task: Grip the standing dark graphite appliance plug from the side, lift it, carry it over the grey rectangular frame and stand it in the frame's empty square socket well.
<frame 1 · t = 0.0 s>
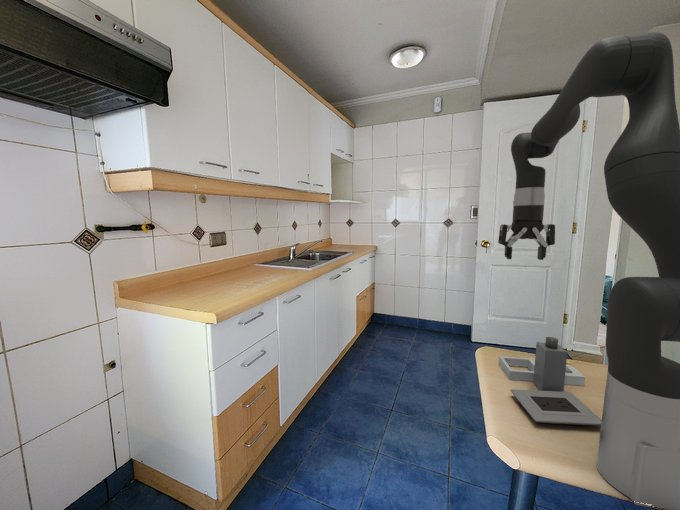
hand: (524, 259, 86), 29 cm above the table, tool pointing down, fingers open, 8 cm apart
electrical outlet: (553, 414, 63), on the table
grey rectangular frame: (538, 374, 77), on the table
plug: (547, 389, 71), on the table
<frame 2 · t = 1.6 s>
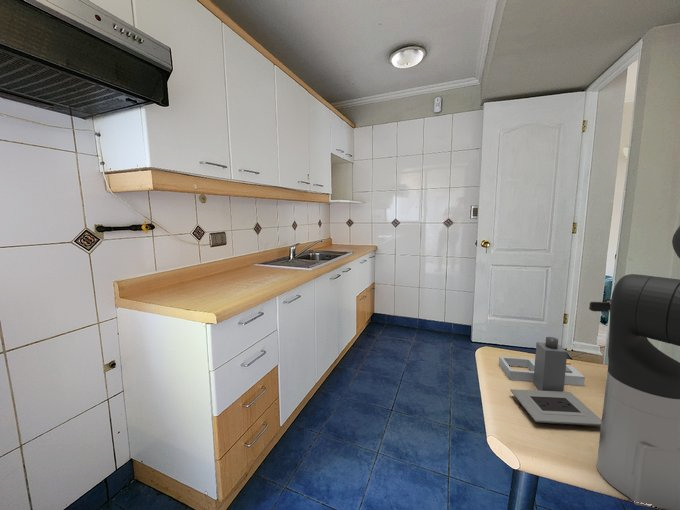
hand: (602, 312, 66), 20 cm above the table, tool horizontal, fingers open, 8 cm apart
nothing on the table moved.
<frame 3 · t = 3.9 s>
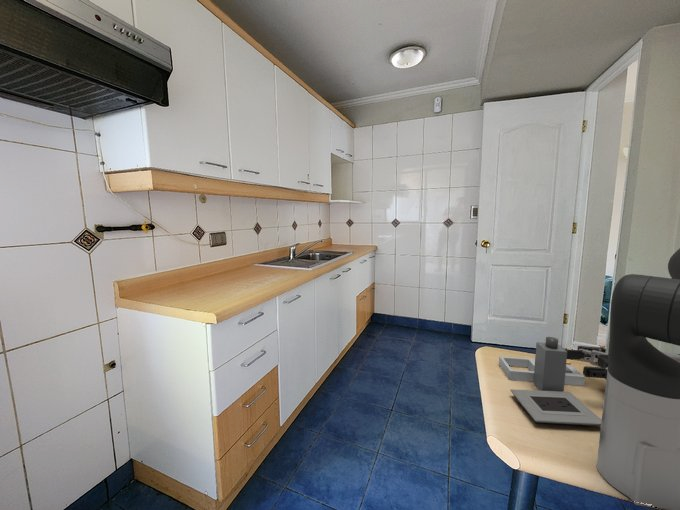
hand: (572, 362, 69), 8 cm above the table, tool horizontal, fingers open, 8 cm apart
nothing on the table moved.
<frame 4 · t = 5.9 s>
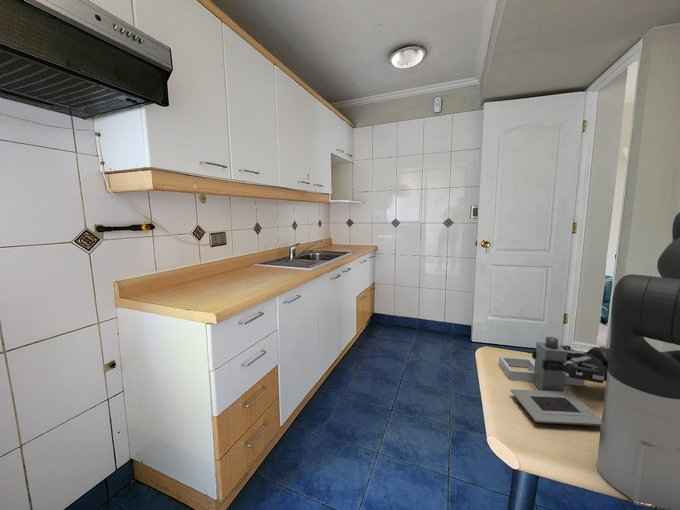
hand: (537, 359, 70), 8 cm above the table, tool horizontal, fingers closed on plug, 4 cm apart
plug: (547, 389, 71), on the table, touching gripper
everything else where it was.
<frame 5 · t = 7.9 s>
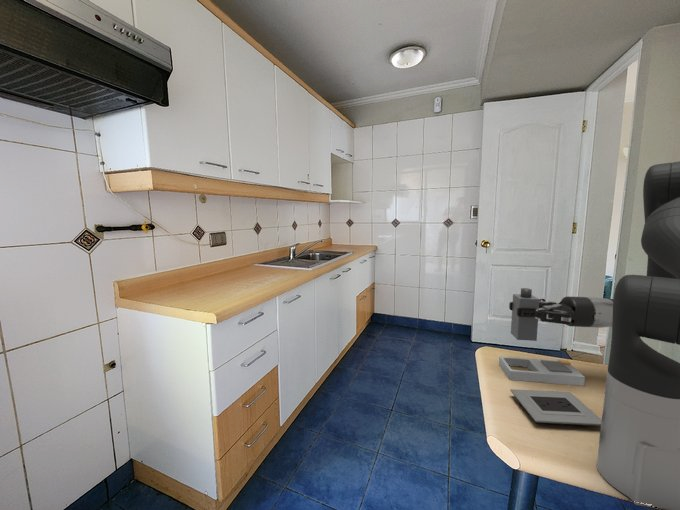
hand: (513, 309, 76), 18 cm above the table, tool horizontal, fingers closed on plug, 4 cm apart
plug: (523, 336, 77), point 10 cm above the table, touching gripper
everything else where it was.
when the fingers open (9 cm above the table, at t = 10.3 s): plug drops 1 cm, resting in grey rectangular frame.
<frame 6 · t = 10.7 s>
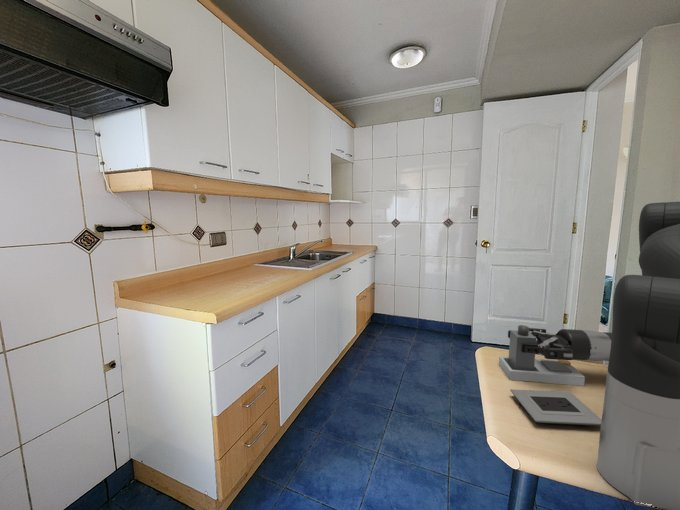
hand: (514, 340, 77), 9 cm above the table, tool horizontal, fingers open, 8 cm apart
plug: (520, 372, 78), resting in grey rectangular frame
everything else where it was.
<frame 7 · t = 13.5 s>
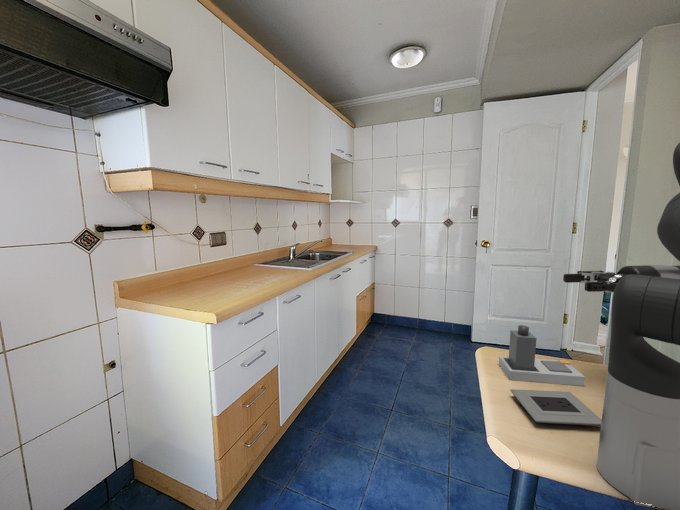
hand: (574, 282, 72), 26 cm above the table, tool horizontal, fingers open, 8 cm apart
nothing on the table moved.
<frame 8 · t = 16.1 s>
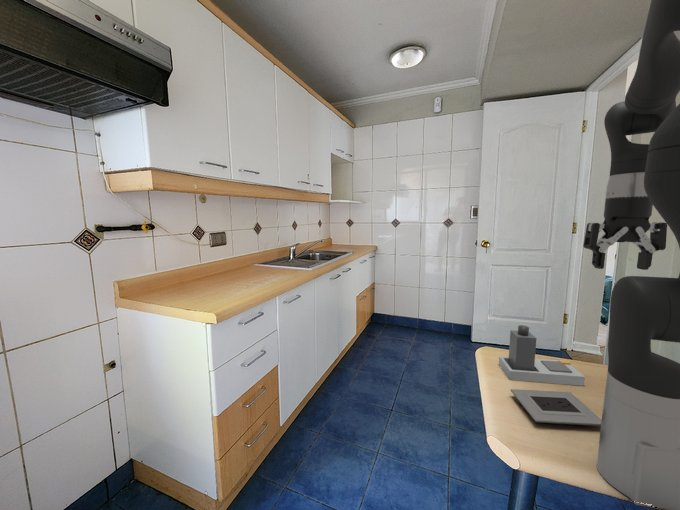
hand: (620, 268, 65), 30 cm above the table, tool pointing down, fingers open, 8 cm apart
nothing on the table moved.
at the end: plug 0.1 cm from the target spot on the grey rectangular frame, point 0.0 cm above the grey rectangular frame's base; plug tilted 0°; the gripper is holding nothing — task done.
